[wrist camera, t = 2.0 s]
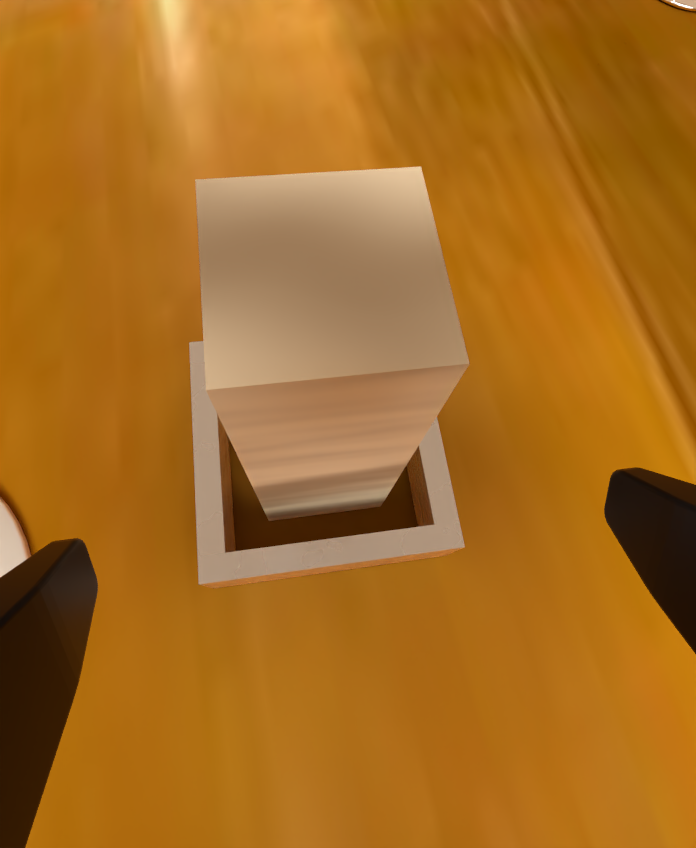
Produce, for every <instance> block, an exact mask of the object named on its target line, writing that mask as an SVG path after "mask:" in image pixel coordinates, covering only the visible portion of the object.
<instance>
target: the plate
mask: <svg viewBox="0 0 696 848" xmlns="http://www.w3.org/2000/svg"><path fill="white" fill-rule="evenodd" d="M29 557H31V554H30V550H29V546H28V542H27V540H26V537H25V535H24V532H23V530H22V528H21V525H20V523H19V521H18V520H17V518H16V517H15V515H14V513H13V512H12V510H11V509H10V507H9V506H8V505H7V503H6V502H5V501H4V500H3V499H2V498H1V497H0V577H2V576H3V575H5V574H6V573H7V572H9V571H10V570H12V569H13V568H15V567H16V566H18V565H19V564H21V563H22V562H23V561H25V560H26V559H28V558H29Z"/></svg>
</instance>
